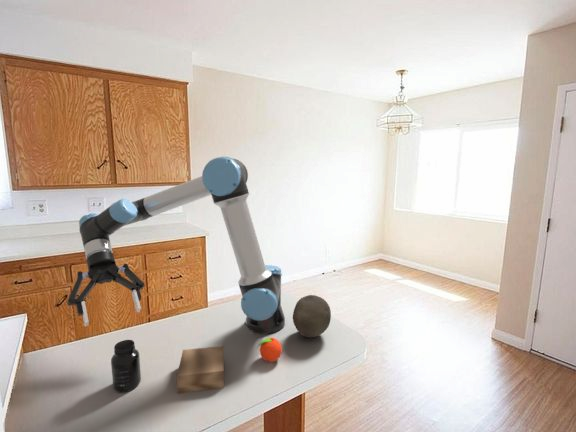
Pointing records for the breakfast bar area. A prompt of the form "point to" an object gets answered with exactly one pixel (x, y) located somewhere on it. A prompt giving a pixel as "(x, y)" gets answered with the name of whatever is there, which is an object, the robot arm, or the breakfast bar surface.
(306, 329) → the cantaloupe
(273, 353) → the clementine
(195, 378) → the walnut block
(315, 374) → the breakfast bar surface
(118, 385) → the supplement bottle
